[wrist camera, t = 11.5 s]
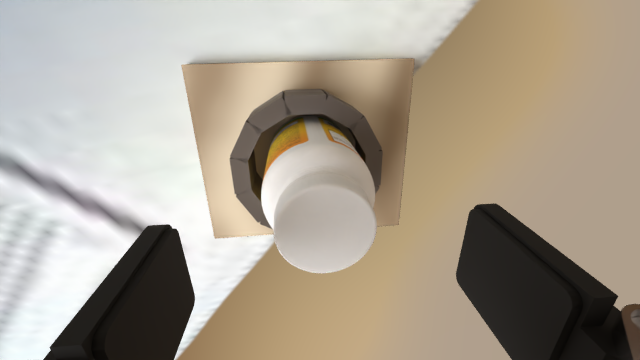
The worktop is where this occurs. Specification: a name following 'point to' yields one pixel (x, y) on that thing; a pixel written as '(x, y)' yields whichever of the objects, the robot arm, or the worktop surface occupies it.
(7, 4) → the worktop surface
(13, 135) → the worktop surface
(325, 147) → the supplement bottle
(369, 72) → the collar board
